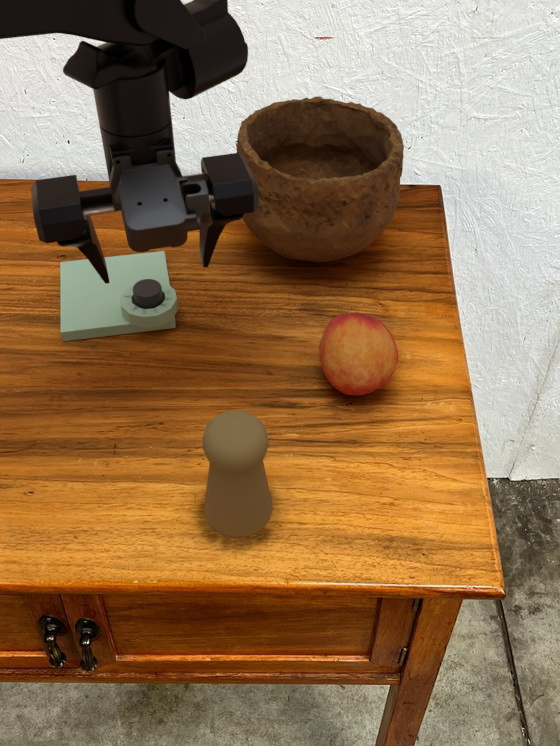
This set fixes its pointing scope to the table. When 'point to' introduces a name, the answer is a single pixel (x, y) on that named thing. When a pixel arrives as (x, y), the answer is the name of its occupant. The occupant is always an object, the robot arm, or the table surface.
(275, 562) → the table surface
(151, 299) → the dark brown cylinder
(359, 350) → the fruit
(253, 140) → the bowl
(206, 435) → the brown game pawn
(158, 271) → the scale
